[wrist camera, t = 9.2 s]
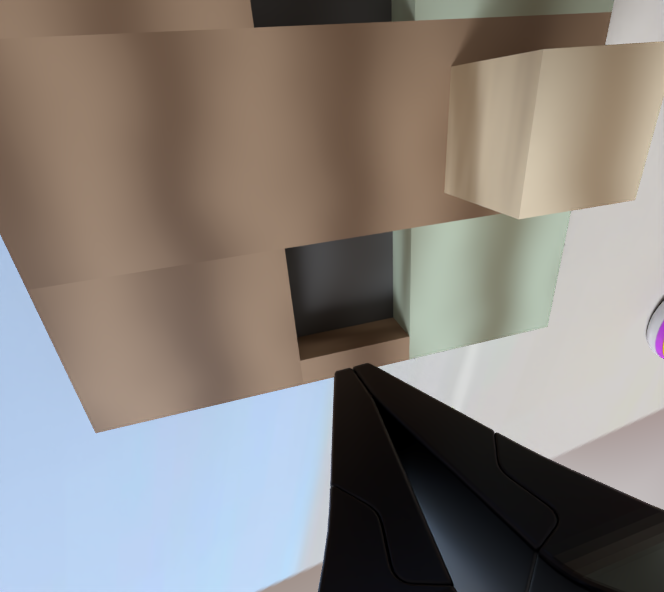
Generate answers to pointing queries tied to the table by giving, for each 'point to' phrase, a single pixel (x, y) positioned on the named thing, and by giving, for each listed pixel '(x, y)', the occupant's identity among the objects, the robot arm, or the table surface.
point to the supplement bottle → (657, 331)
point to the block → (553, 127)
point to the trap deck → (259, 190)
